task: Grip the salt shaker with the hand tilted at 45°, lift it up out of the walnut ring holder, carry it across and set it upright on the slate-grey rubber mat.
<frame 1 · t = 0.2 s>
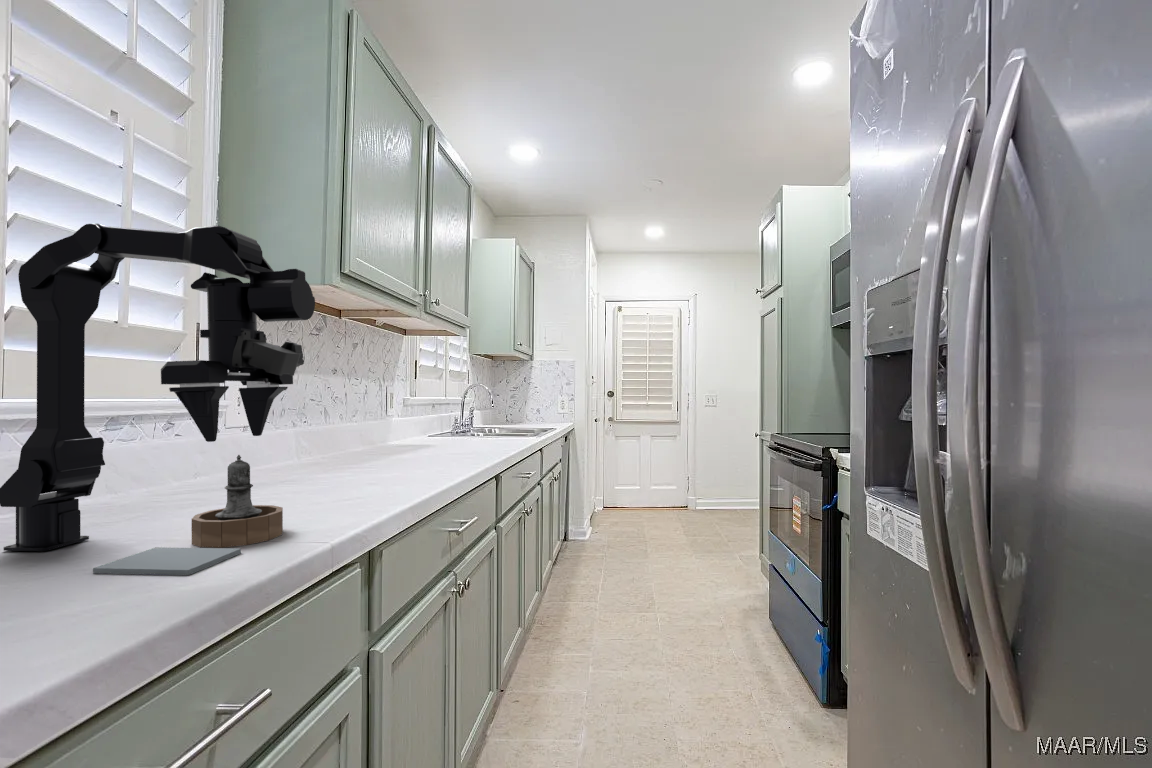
hand: (235, 438, 78), 15 cm above the table, tool pointing down, fingers open, 9 cm apart
ring holder: (239, 537, 84), on the table
mat: (171, 562, 71), on the table
salt shaker: (239, 538, 84), resting in ring holder
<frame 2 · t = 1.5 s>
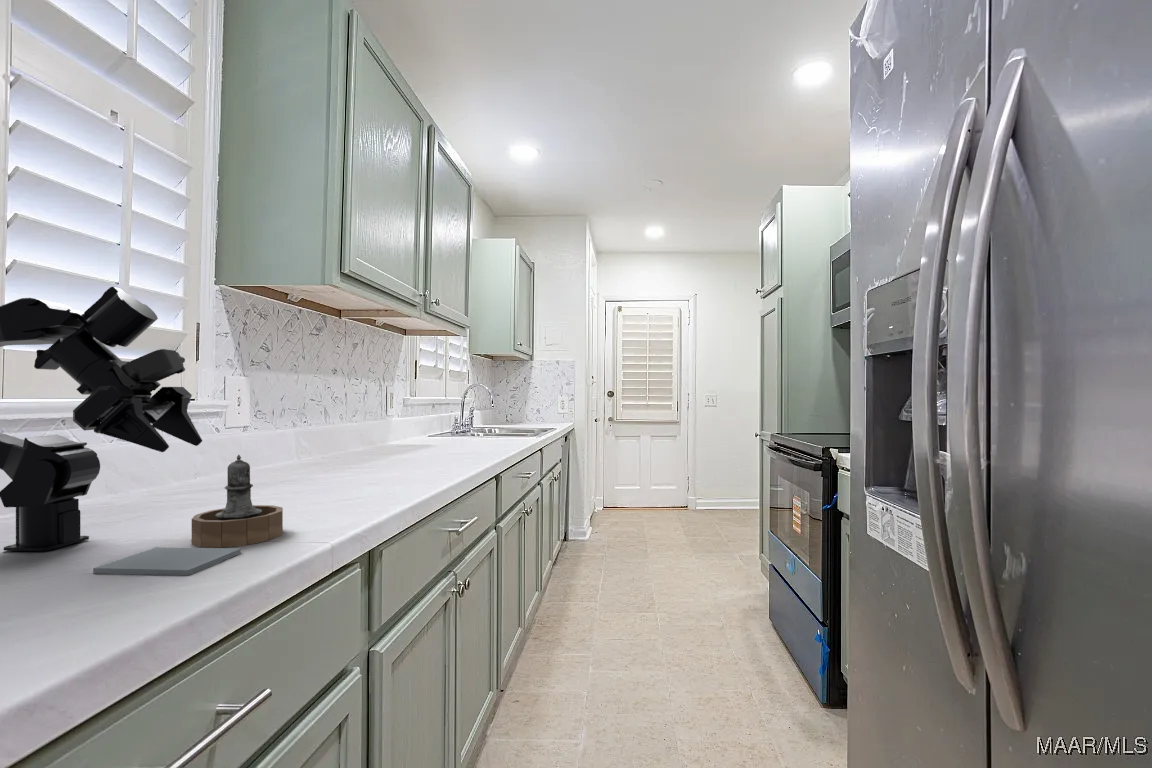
hand: (183, 446, 83), 13 cm above the table, tool tilted 45°, fingers open, 9 cm apart
nothing on the table moved.
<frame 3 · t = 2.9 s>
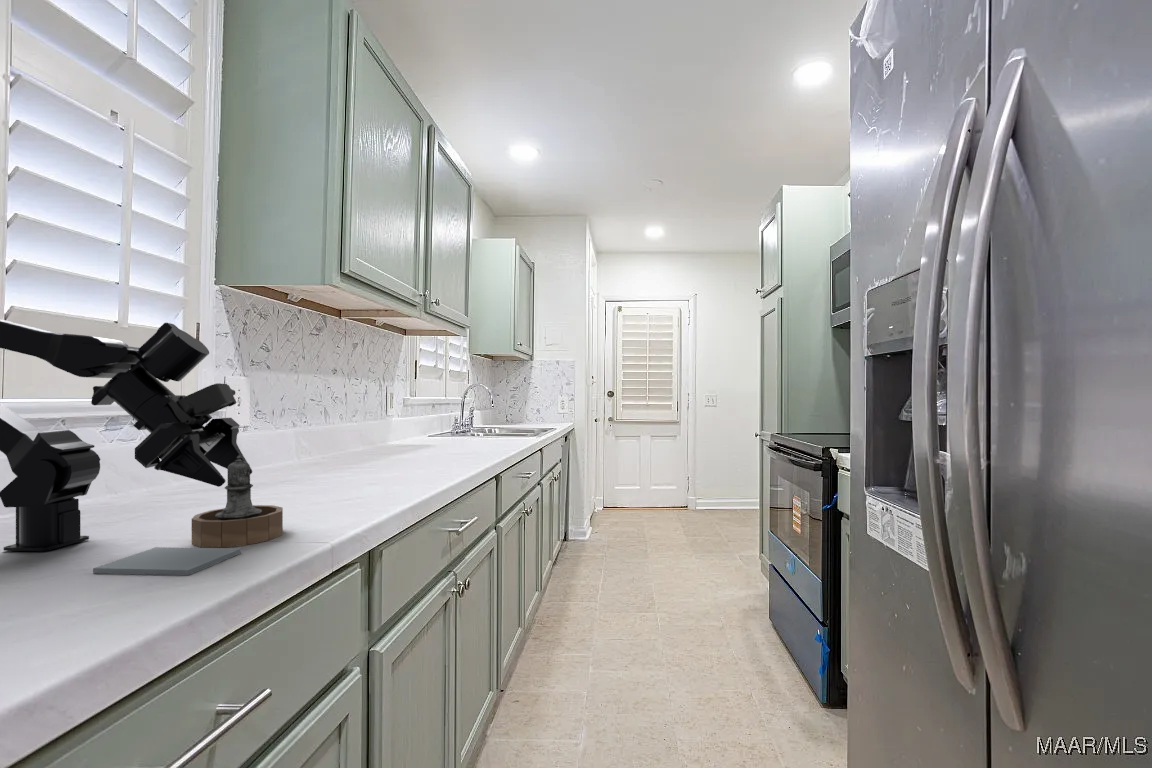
hand: (237, 479, 84), 8 cm above the table, tool tilted 45°, fingers open, 9 cm apart
nothing on the table moved.
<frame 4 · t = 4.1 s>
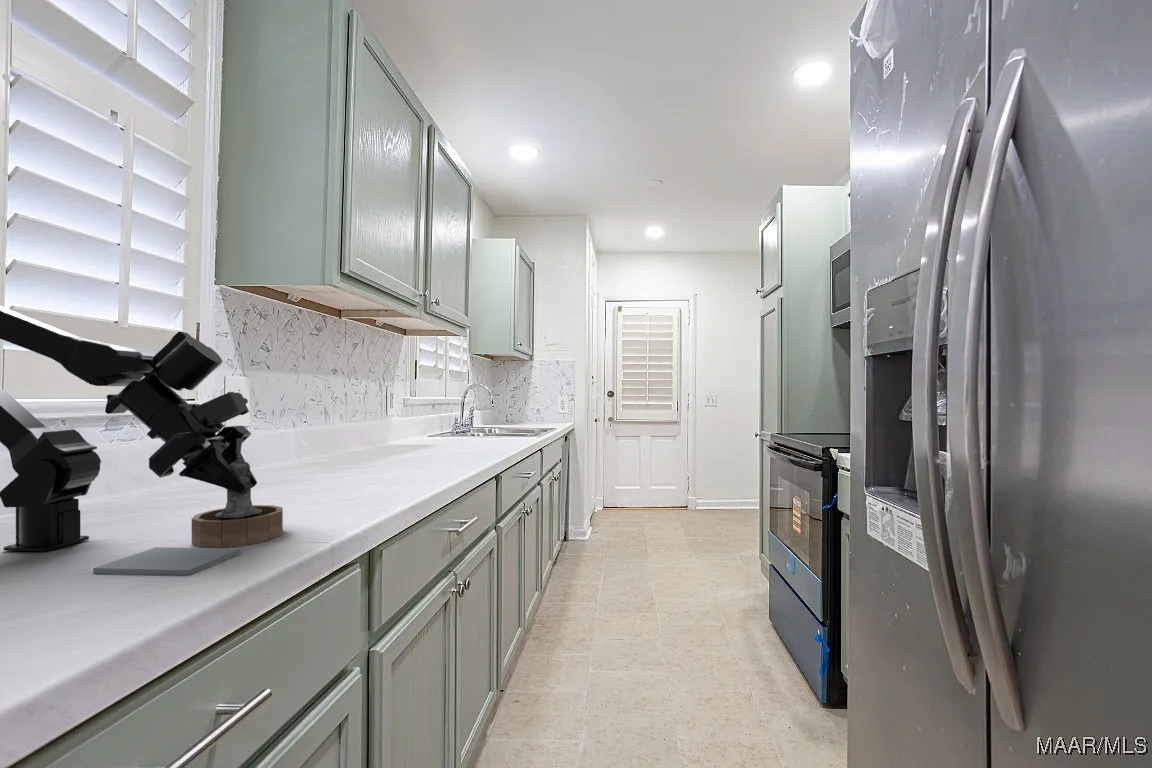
hand: (249, 487, 84), 7 cm above the table, tool tilted 45°, fingers closed on salt shaker, 4 cm apart
salt shaker: (239, 538, 84), resting in ring holder, touching gripper
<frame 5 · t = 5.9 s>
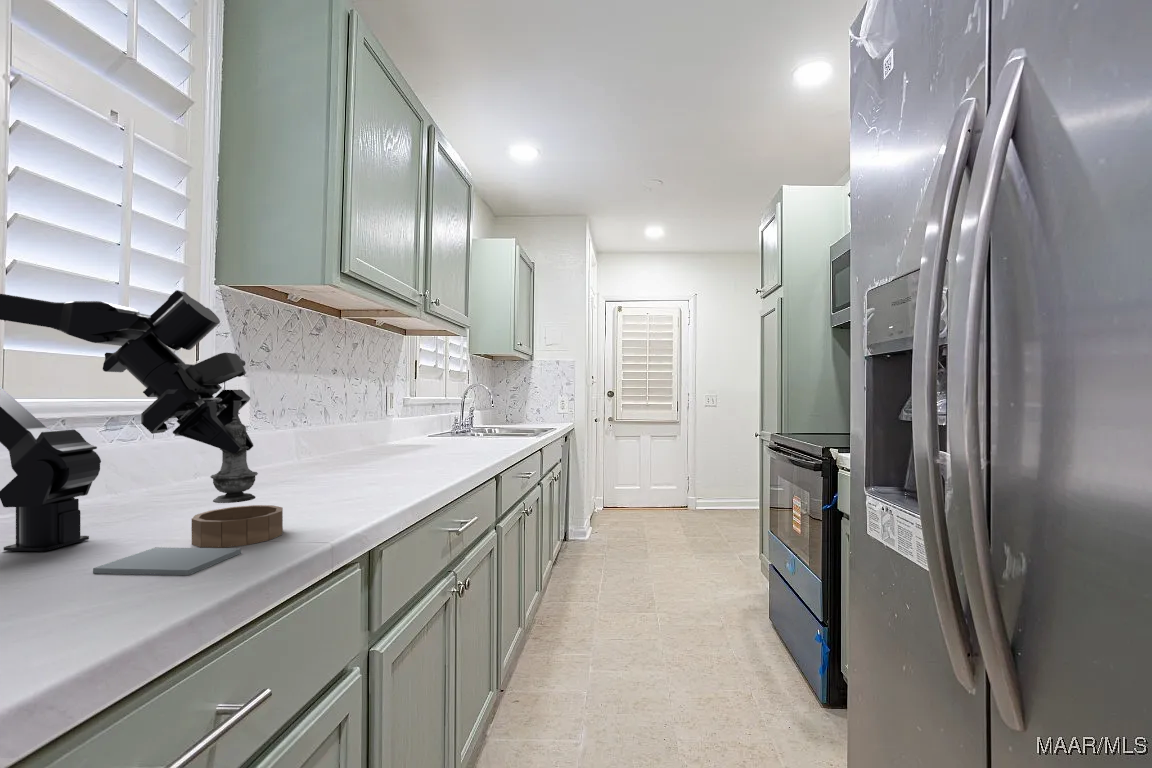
hand: (244, 449, 83), 13 cm above the table, tool tilted 45°, fingers closed on salt shaker, 4 cm apart
salt shaker: (234, 500, 83), point 5 cm above the table, touching gripper
when the fingers open (9 cm above the table, at t = 7.9 s): salt shaker stays where it is, resting on mat.
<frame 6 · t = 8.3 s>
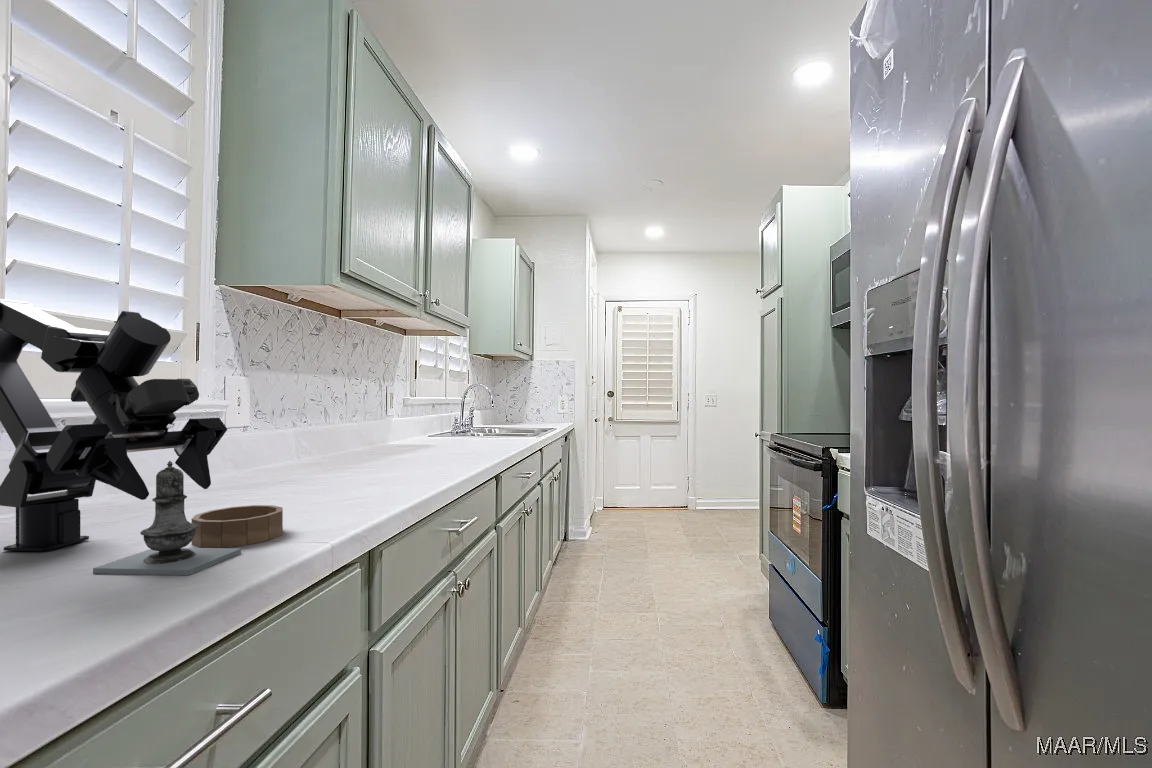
hand: (178, 491, 71), 9 cm above the table, tool tilted 45°, fingers open, 7 cm apart
salt shaker: (170, 559, 72), resting on mat
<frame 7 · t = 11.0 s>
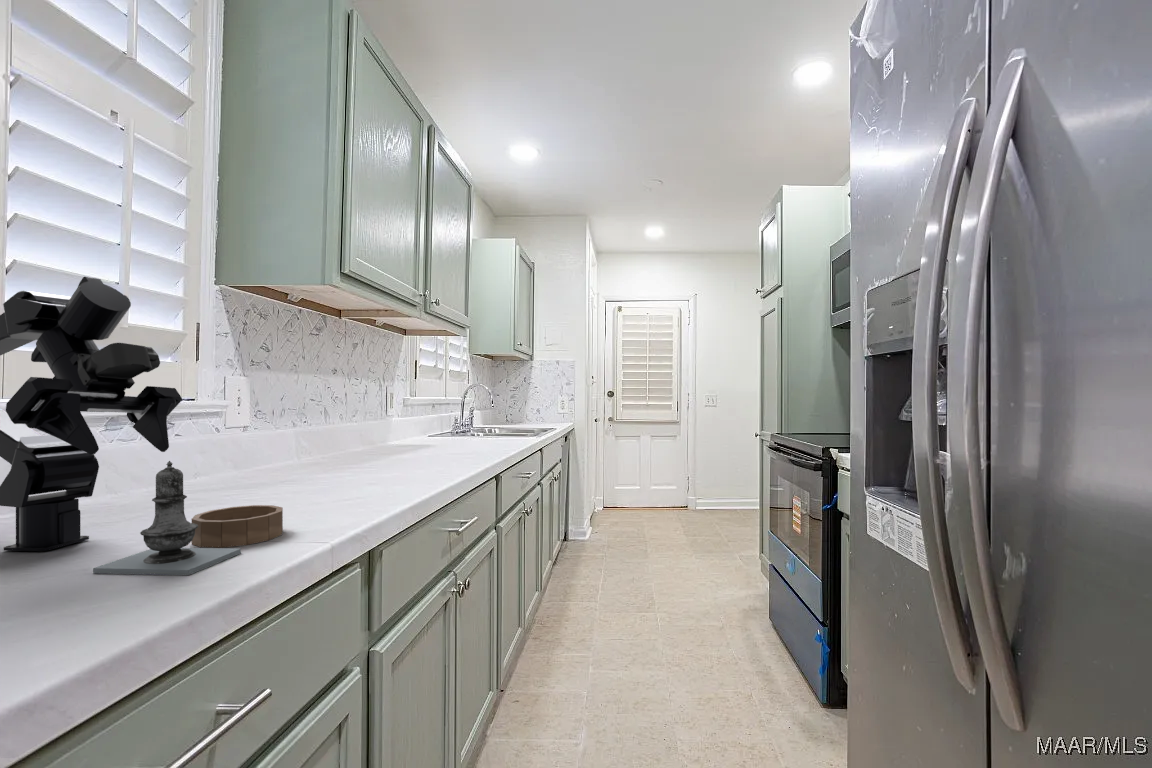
hand: (132, 450, 75), 14 cm above the table, tool tilted 40°, fingers open, 9 cm apart
nothing on the table moved.
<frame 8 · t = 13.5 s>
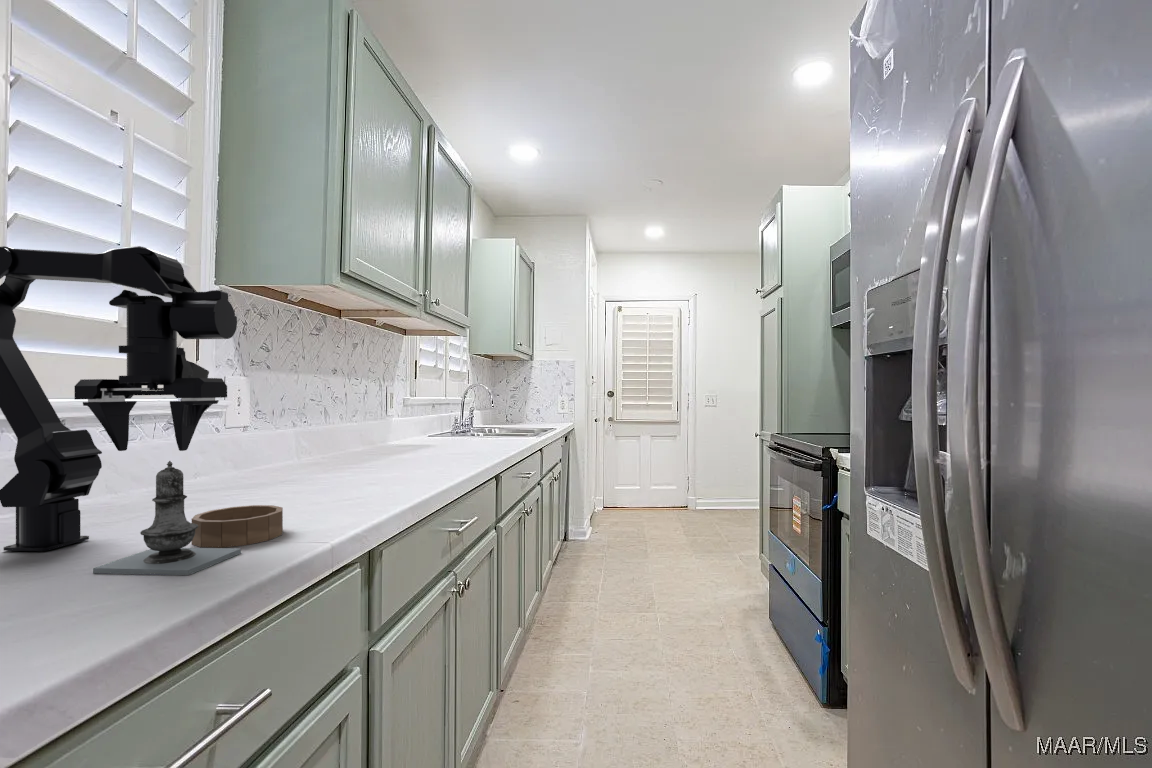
hand: (152, 450, 81), 13 cm above the table, tool pointing down, fingers open, 9 cm apart
nothing on the table moved.
at the end: salt shaker inside the target area on the mat (0.2 cm from its centre), point 0.4 cm above the mat's base; salt shaker tilted 0°; the gripper is holding nothing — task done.
